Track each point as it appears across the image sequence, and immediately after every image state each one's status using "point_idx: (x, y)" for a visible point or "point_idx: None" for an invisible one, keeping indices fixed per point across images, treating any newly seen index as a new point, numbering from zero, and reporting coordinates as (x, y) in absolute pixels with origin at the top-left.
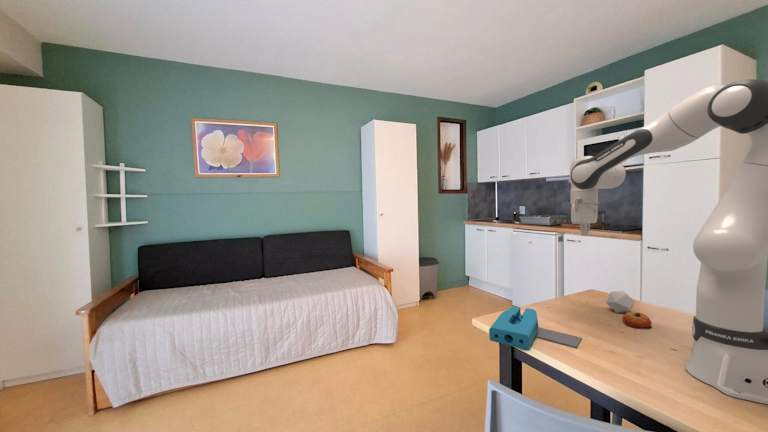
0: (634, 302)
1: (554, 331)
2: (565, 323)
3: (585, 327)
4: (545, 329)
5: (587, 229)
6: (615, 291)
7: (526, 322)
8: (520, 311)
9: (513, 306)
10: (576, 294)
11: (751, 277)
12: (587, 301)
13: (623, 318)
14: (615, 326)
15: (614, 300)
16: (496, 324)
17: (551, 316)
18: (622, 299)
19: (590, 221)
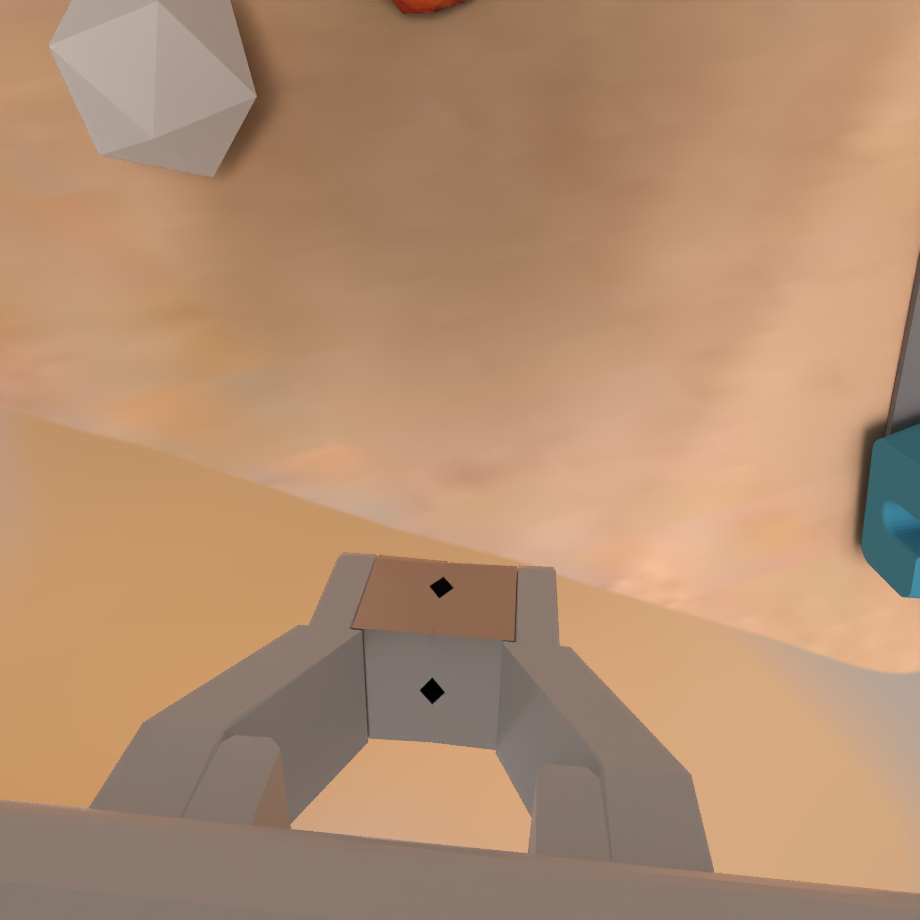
0: None
1: (917, 324)
2: (709, 316)
3: (708, 201)
4: (912, 372)
5: (326, 681)
6: (120, 108)
7: None
8: (906, 541)
9: (915, 591)
10: (42, 414)
11: None
12: (145, 317)
13: (450, 2)
14: (564, 42)
15: (242, 100)
16: None
17: (632, 412)
18: (208, 36)
19: (304, 908)
